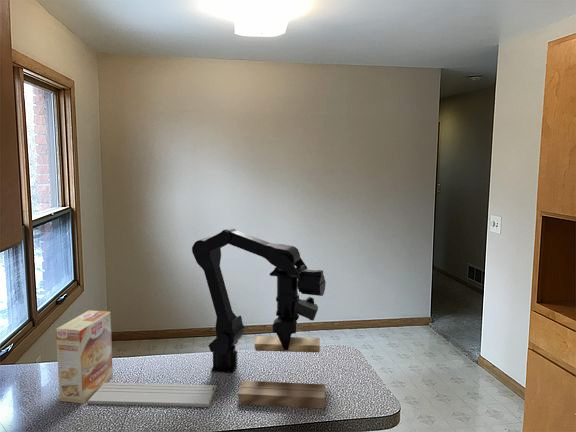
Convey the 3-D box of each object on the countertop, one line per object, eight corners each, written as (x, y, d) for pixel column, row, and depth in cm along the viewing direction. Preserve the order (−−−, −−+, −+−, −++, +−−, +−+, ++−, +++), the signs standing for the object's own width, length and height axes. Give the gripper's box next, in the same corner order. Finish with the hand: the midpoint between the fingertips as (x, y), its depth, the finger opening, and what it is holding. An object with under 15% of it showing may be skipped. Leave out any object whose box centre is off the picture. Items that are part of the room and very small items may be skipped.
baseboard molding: (108, 383, 131) (88, 406, 119) (107, 373, 130) (87, 395, 119) (218, 385, 130) (209, 409, 118) (218, 376, 129) (209, 398, 117)
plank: (254, 353, 130) (254, 343, 129) (257, 345, 135) (257, 336, 135) (319, 355, 129) (319, 345, 128) (319, 347, 134) (319, 337, 134)
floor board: (238, 404, 119) (238, 393, 119) (244, 387, 128) (244, 377, 127) (324, 408, 117) (324, 397, 117) (324, 391, 126) (325, 381, 125)
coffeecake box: (83, 404, 119) (79, 330, 116) (58, 401, 120) (53, 328, 117) (114, 376, 133) (111, 310, 131) (91, 374, 135) (88, 309, 132)
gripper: (315, 303, 120) (314, 361, 122) (317, 283, 138) (316, 334, 140) (272, 302, 121) (272, 359, 123) (279, 282, 139) (279, 332, 141)
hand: (287, 345), depth 132 cm, fingers closed on plank, 5 cm apart
